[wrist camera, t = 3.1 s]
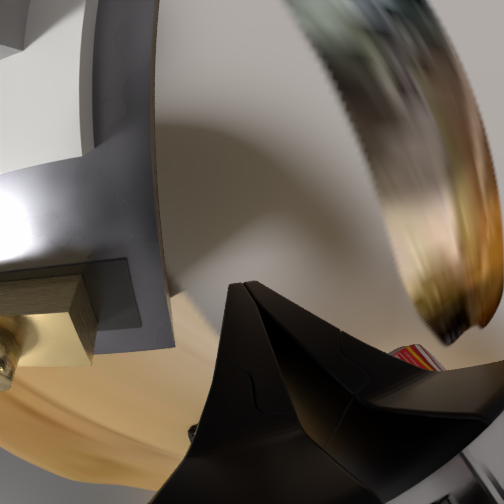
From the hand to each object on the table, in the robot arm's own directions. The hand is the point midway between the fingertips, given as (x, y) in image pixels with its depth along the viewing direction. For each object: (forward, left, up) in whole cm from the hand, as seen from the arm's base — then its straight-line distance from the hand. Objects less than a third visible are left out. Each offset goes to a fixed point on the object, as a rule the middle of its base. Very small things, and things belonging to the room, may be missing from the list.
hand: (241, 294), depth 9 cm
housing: (+6, +8, -4) cm, 10 cm away
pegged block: (0, +8, -1) cm, 8 cm away
